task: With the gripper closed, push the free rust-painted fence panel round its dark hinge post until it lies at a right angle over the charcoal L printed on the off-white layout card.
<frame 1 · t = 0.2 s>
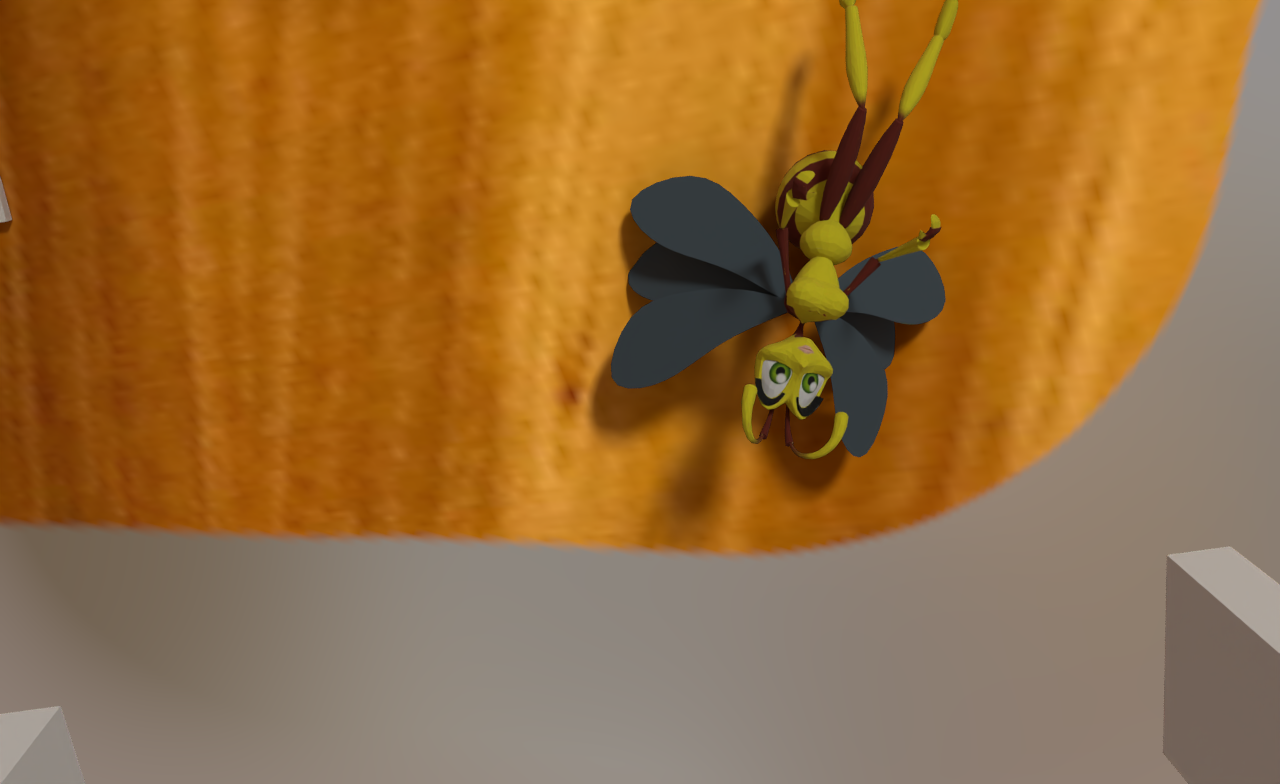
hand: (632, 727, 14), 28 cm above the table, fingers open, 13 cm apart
toy: (803, 201, 40), on the table
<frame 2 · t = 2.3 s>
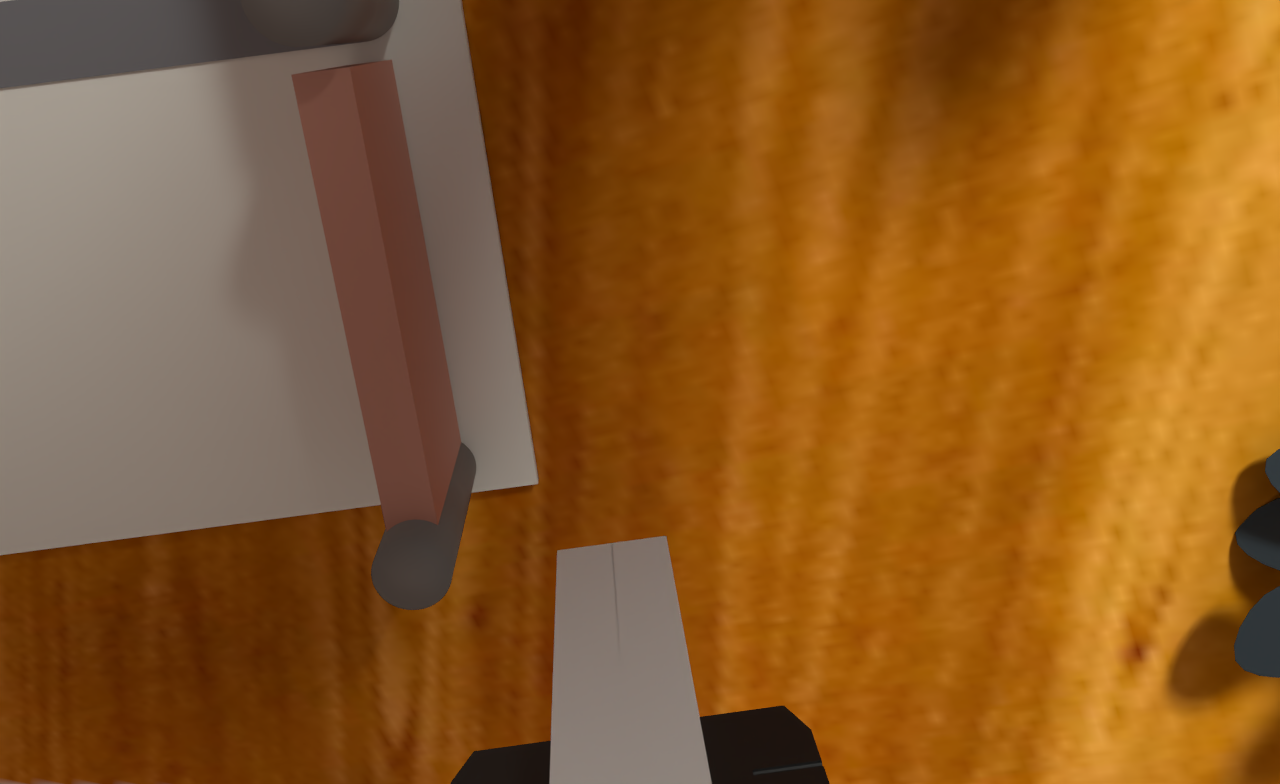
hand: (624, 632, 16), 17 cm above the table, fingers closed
fence fixed: (358, 0, 29), resting on layout card
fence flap: (392, 323, 27), point 4 cm above the table, hinge at 0.0°
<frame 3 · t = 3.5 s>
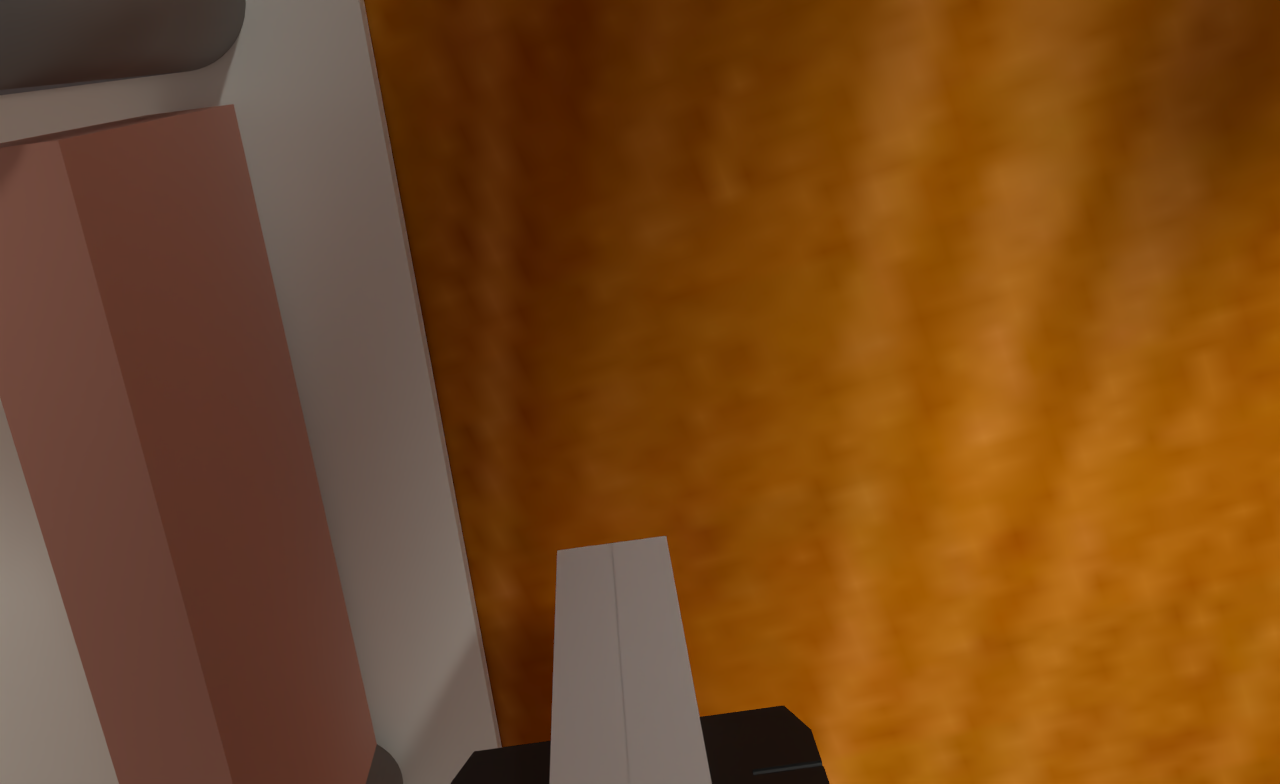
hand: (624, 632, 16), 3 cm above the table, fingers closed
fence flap: (219, 609, 14), point 4 cm above the table, hinge at 0.0°
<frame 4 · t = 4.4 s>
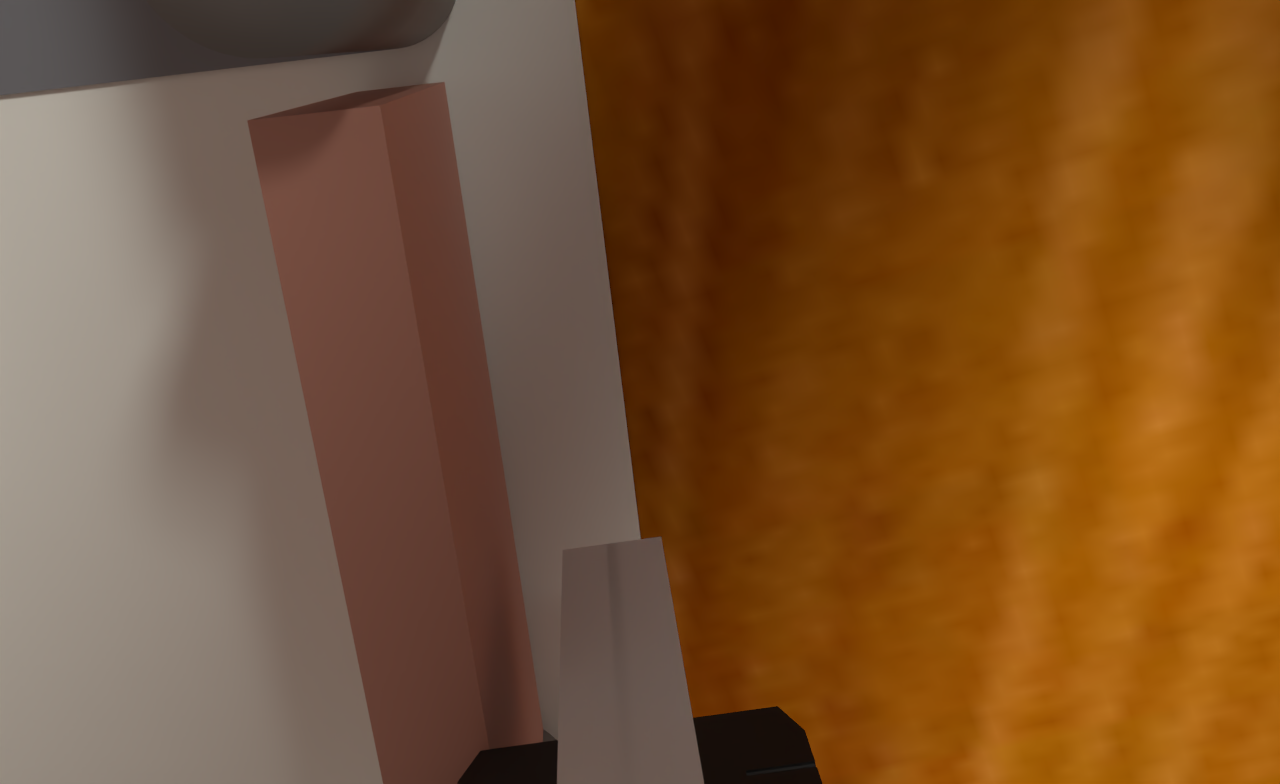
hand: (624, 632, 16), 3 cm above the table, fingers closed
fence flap: (443, 586, 14), point 4 cm above the table, hinge at 0.4°, touching gripper
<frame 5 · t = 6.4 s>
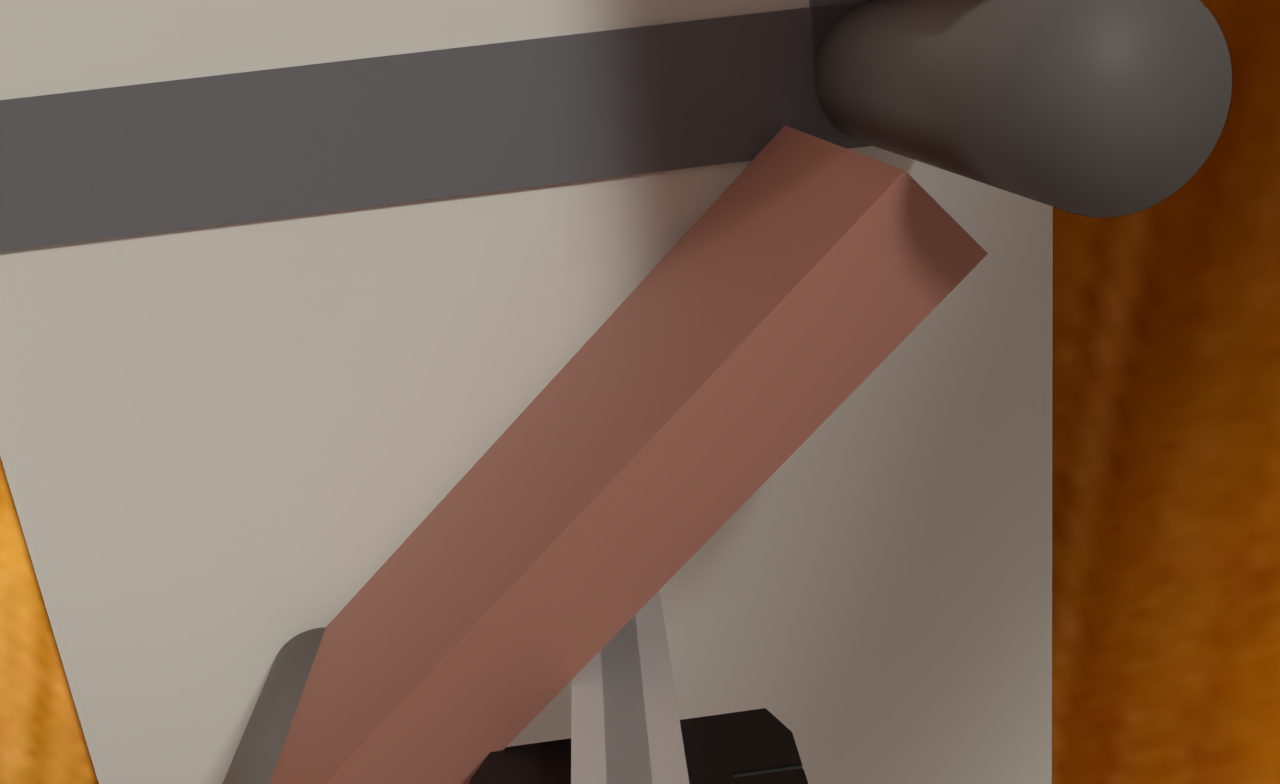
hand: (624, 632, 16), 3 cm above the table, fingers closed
fence fixed: (882, 72, 16), resting on layout card
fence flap: (539, 543, 14), point 4 cm above the table, hinge at 48.8°, touching gripper
layout card: (489, 43, 16), on the table
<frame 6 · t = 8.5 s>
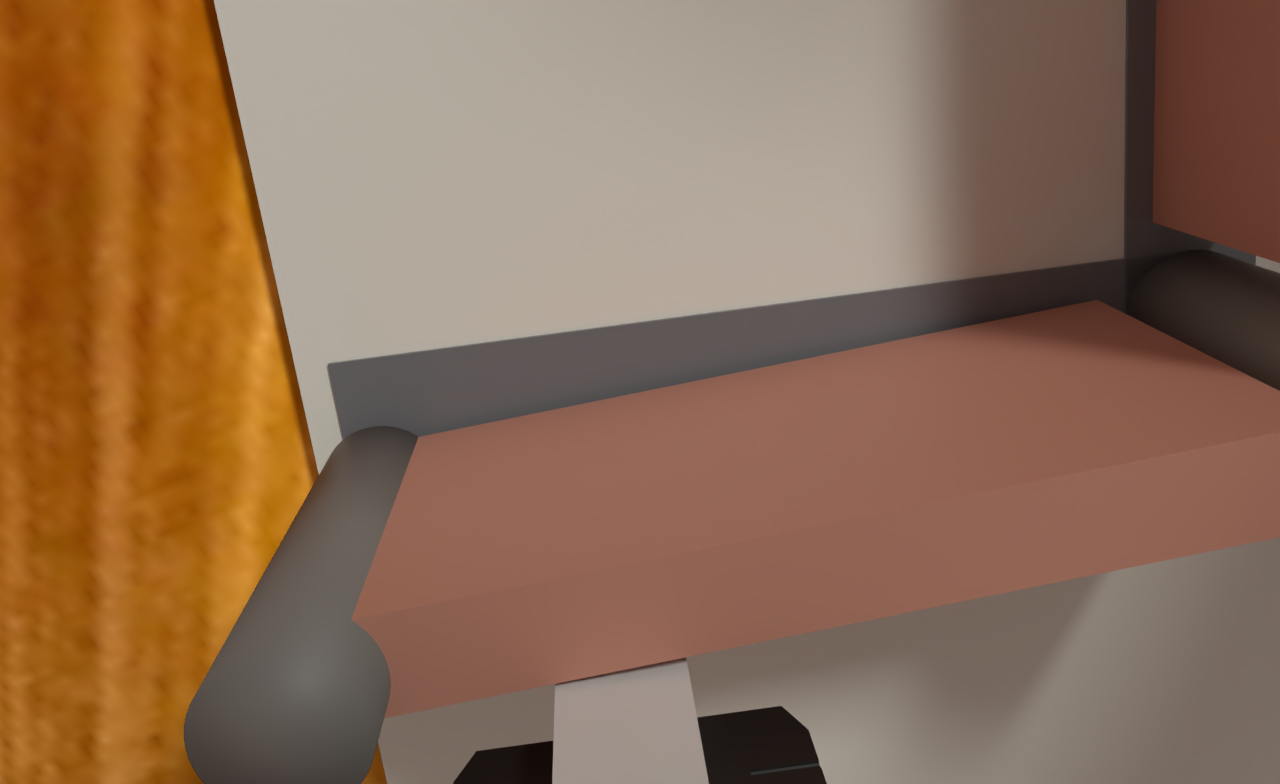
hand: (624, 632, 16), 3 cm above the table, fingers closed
fence fixed: (1187, 313, 18), resting on layout card
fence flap: (745, 501, 14), point 4 cm above the table, hinge at 86.0°, touching gripper
layout card: (822, 291, 18), on the table
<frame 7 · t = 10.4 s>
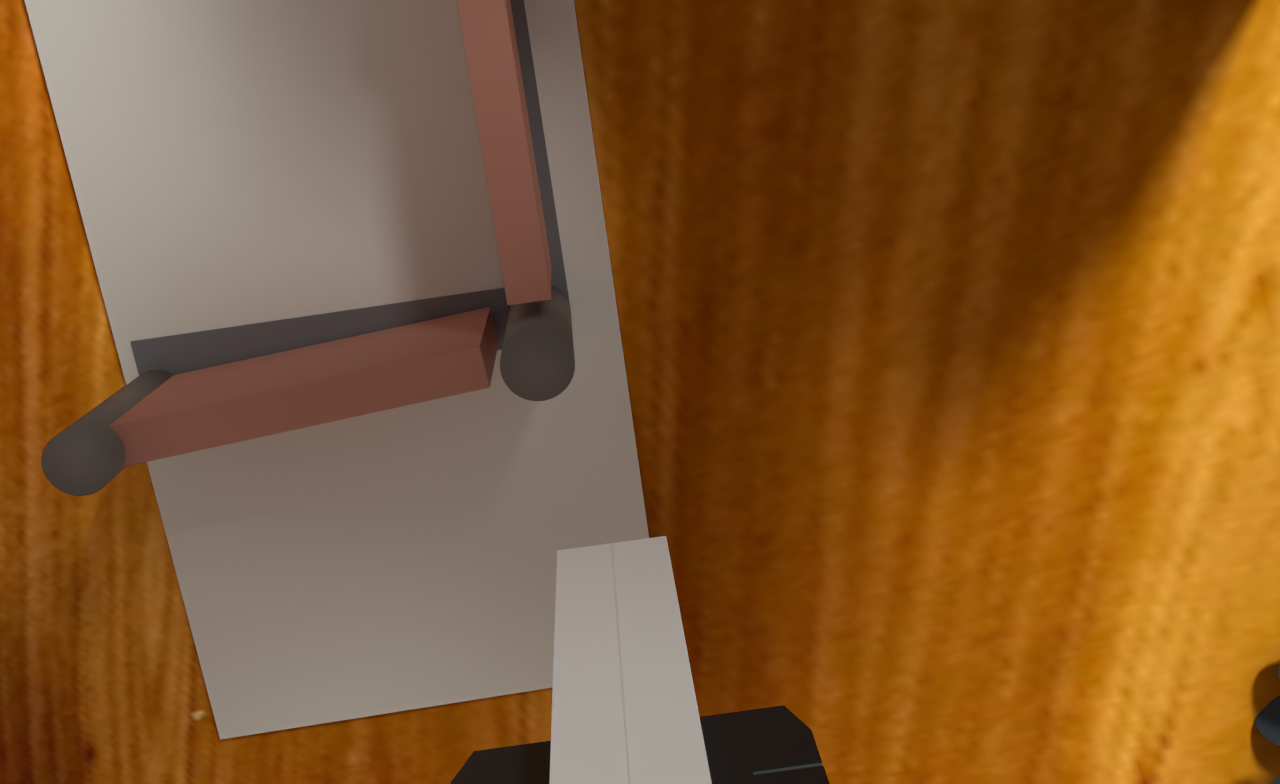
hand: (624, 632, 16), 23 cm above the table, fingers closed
fence fixed: (540, 313, 37), resting on layout card
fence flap: (290, 390, 34), point 4 cm above the table, hinge at 86.0°
layout card: (367, 305, 37), on the table
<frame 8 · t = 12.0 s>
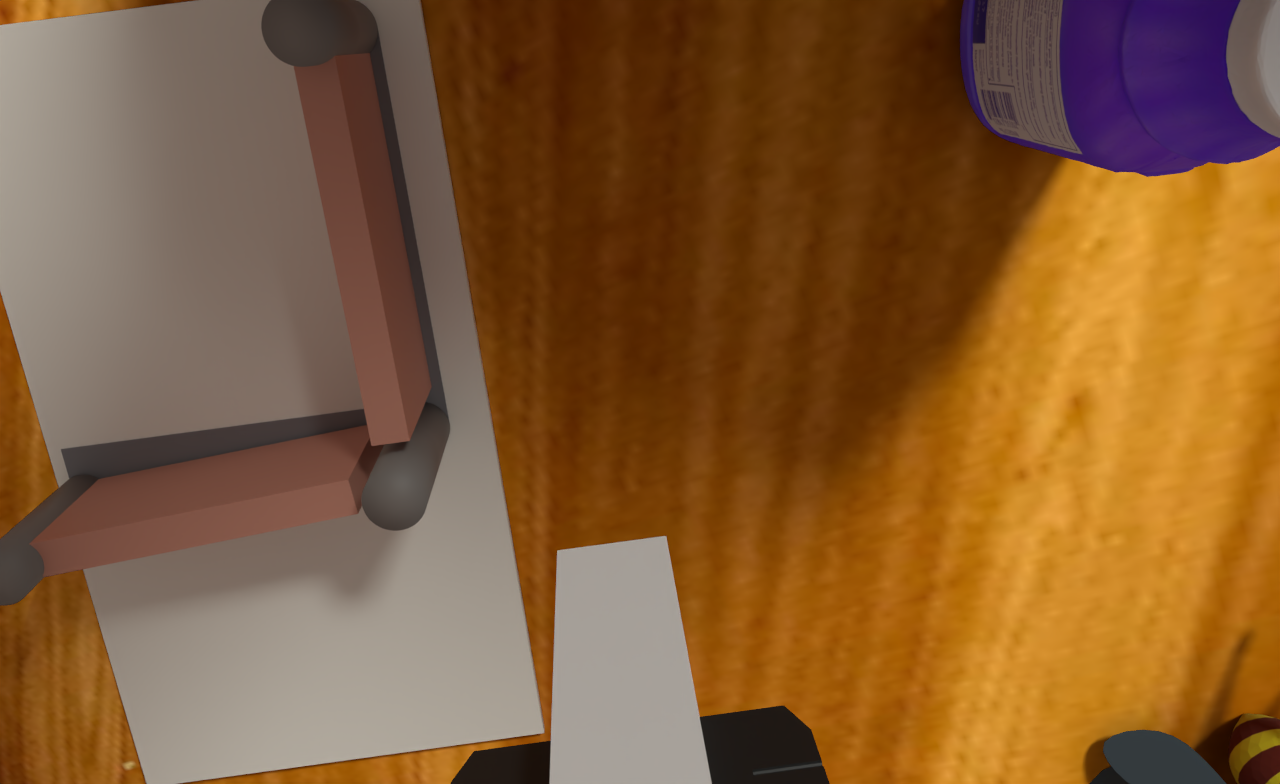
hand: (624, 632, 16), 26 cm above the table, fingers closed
fence fixed: (422, 427, 42), resting on layout card
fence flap: (193, 505, 39), point 4 cm above the table, hinge at 86.0°
bottle: (1028, 36, 40), on the table
toy: (1230, 728, 49), on the table
layout card: (270, 418, 42), on the table
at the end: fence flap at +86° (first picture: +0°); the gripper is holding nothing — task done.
